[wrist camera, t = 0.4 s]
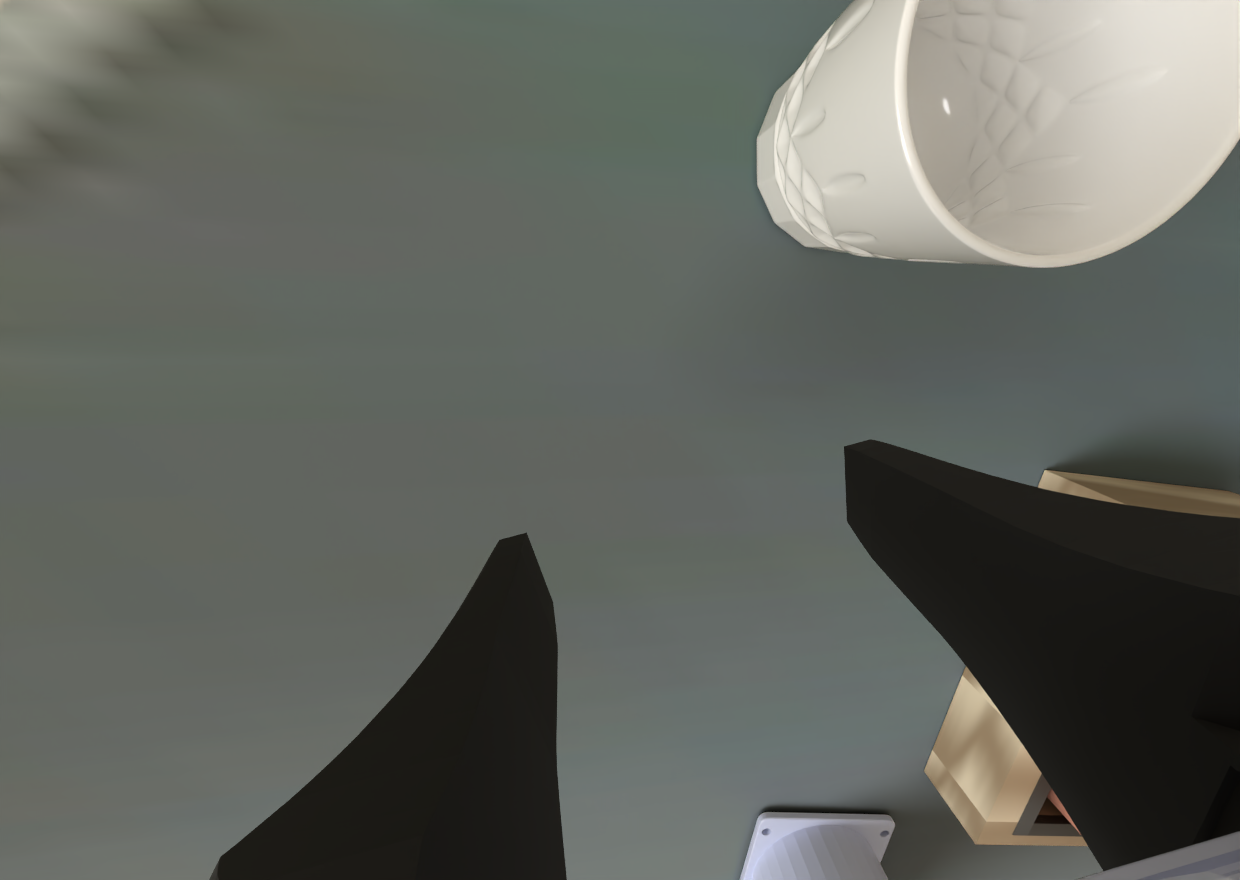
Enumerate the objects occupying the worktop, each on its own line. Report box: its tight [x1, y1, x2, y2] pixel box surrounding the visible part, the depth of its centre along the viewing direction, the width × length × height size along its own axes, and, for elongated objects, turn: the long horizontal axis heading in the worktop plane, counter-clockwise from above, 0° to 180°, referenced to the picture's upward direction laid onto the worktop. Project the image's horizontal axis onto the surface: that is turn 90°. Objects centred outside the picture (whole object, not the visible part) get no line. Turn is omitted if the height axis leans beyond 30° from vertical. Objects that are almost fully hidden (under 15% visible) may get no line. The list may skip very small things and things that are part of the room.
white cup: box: [757, 0, 1240, 268], centre depth 15 cm, size 8×8×10 cm
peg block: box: [924, 470, 1240, 846], centre depth 26 cm, size 18×10×4 cm, turn 172°
